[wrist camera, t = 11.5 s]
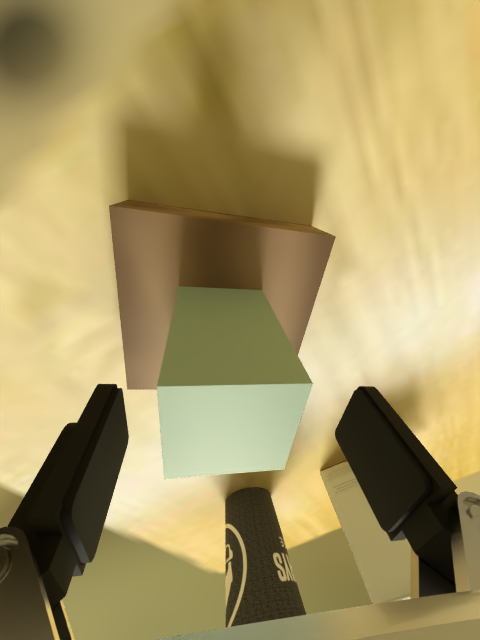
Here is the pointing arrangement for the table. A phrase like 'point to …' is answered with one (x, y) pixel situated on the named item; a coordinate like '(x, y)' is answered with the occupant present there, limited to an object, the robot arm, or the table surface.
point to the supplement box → (369, 538)
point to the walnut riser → (206, 271)
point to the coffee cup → (257, 562)
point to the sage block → (228, 385)
